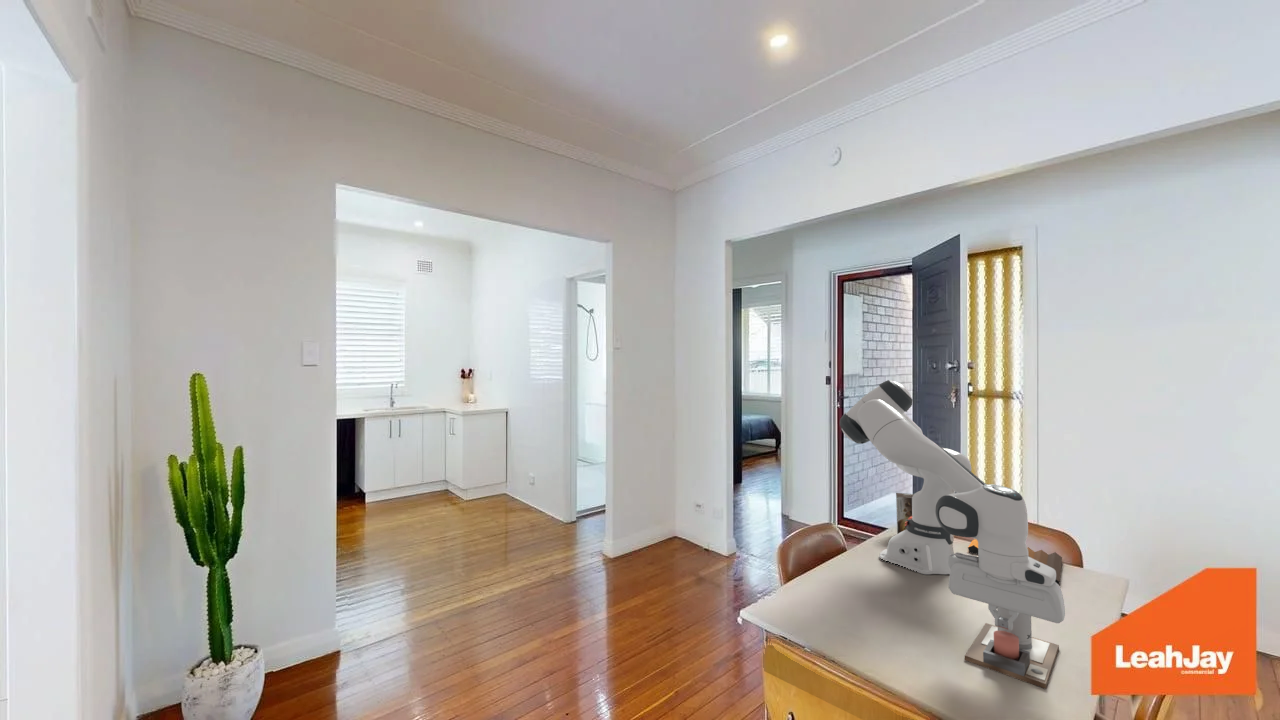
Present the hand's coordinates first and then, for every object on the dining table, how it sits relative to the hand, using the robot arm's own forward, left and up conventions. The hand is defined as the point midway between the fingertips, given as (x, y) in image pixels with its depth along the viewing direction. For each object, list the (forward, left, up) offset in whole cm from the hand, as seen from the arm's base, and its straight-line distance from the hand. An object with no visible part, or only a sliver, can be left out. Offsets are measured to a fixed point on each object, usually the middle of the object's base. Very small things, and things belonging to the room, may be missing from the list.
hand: (1003, 627), depth 107 cm
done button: (0, 0, -6) cm, 6 cm away
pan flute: (-10, +71, -9) cm, 72 cm away
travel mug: (0, +11, -7) cm, 13 cm away
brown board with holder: (0, +7, -8) cm, 11 cm away
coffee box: (-42, +74, -9) cm, 85 cm away
